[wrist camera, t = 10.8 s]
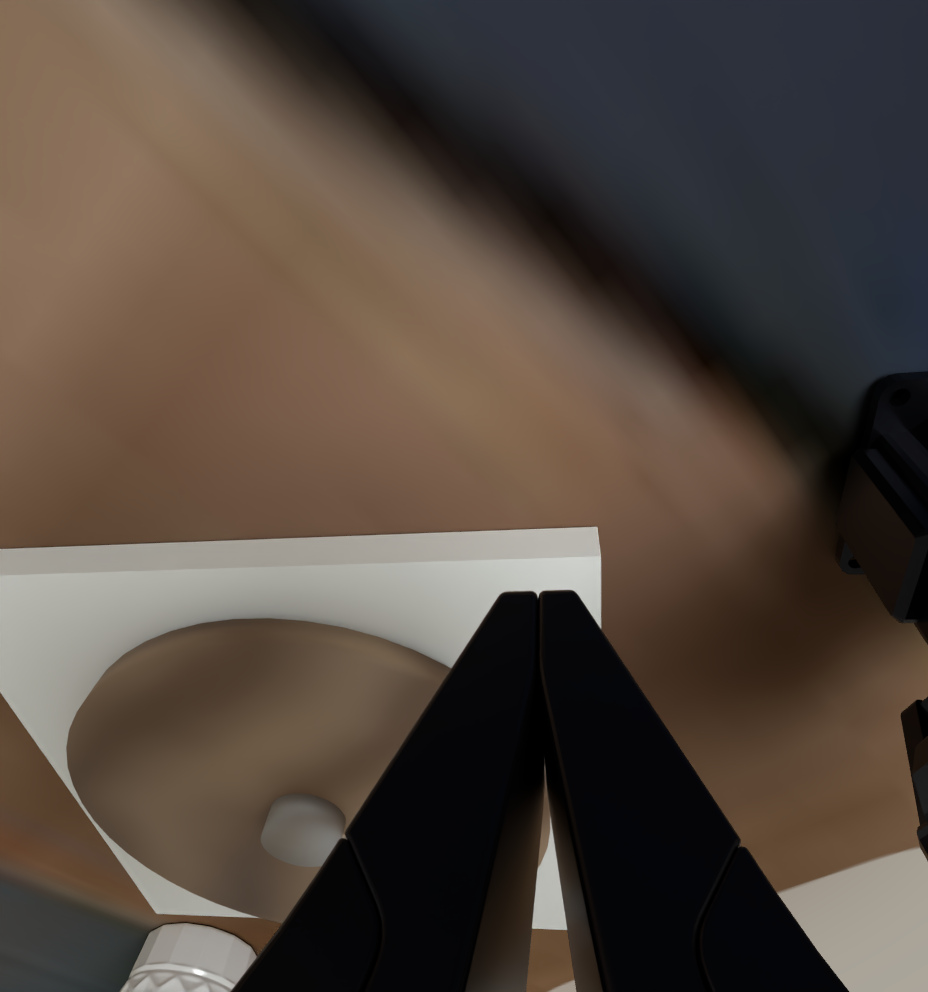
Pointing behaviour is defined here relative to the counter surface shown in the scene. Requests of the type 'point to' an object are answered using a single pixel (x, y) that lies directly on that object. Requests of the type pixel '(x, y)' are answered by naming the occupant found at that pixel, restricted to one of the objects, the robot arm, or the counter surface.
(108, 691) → the dial
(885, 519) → the robot arm
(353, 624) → the base
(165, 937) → the white cup
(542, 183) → the counter surface
